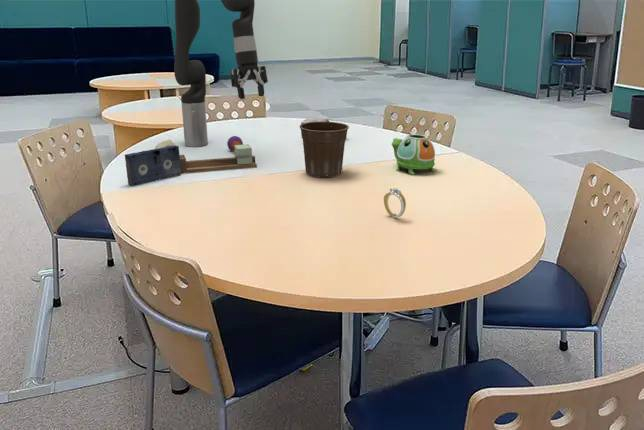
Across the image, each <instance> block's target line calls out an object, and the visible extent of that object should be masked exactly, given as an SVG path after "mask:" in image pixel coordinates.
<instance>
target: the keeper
mask: <svg viewBox="0 0 644 430" xmlns="http://www.w3.org/2000/svg"><path fill="white" fill-rule="evenodd" d="M234 148H235V152H234V157H237V164H238V165H239V164H251V163H252V156H253V148H252V146H251V145H250V144H247V143H246V144H243V145H234Z"/></svg>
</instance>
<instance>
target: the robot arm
mask: <svg viewBox="0 0 644 430" xmlns="http://www.w3.org/2000/svg"><path fill="white" fill-rule="evenodd" d="M220 2H221V3H222V5H223V7H224V8H225V9H226V10H228V11H229V12H234V13H235V12H237V13H238V12H240V14H239V15H240V16H239V18H237V19H234V20H233V21H232V23H231V28H232V33H233V46H234V47H233V48H234V54H235V62H236V66H237V68H231V69H230V71H229V72H230V81H231V87H232V88H235V89H236V91H237V96H238V98H239V99H240V100H245V99H246V96H245V89H244V85H245V83H246V82H247V81H252V82H255V84H256V86H257V87H256V88H257V92H258V93H257V94H258V97H264V96H265V87H264V85H265V84H267V83H268V76H267V70H266V66H265V65H262V66H261V65H258V63H259V60H258V53H257V52H258V51H257V44H256V43H257V42H256V40H255V34H254V32H255V31H254V26H253V24H254V23H253V21H254V12H255V6H256V5H255V0H220ZM174 20H175V22H174V24H175V25H174V27H175V48H174V49H175V53H174V64H173V65H174V67H173V69H174V72H173V73H174V79H175V81H176V83H177V84H178V85H179V86H190V87H189V89H188V90H186V91H185V92H184V93H183V94H181V96H180V101H181V102H180V103H181V111H182V112H181V113H182V114H181V115H182V125H183V126H182V127H183V137H184V139H183V140H184V145H185V146H186V147H190V148H191V147H192V148H193V147H203V146H207V145H208V144H209V141H208V140H209V138H208V127H207V112H206V95H207V80H206V68H205V66H204V64H203V62H202V61H200V60H197V59H191V60H189V58H190V51H191V47H192V44H193V42H194V40H195V38H196V36H197V35H198V33H199V30H200V28H201V27H200V26H201V8H200V5H199V2H198V0H174Z"/></svg>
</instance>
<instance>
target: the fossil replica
mask: <svg viewBox="0 0 644 430" xmlns="http://www.w3.org/2000/svg"><path fill="white" fill-rule="evenodd" d="M174 145H175V146H177V145H176V144H175V143H174V142H173V141H172V140H171V139H168V140H167V139H166V140H164V141H162V142H159V143H157V144H156V145H155V147H154V149H159V148H164V147H169V146H174Z"/></svg>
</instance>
